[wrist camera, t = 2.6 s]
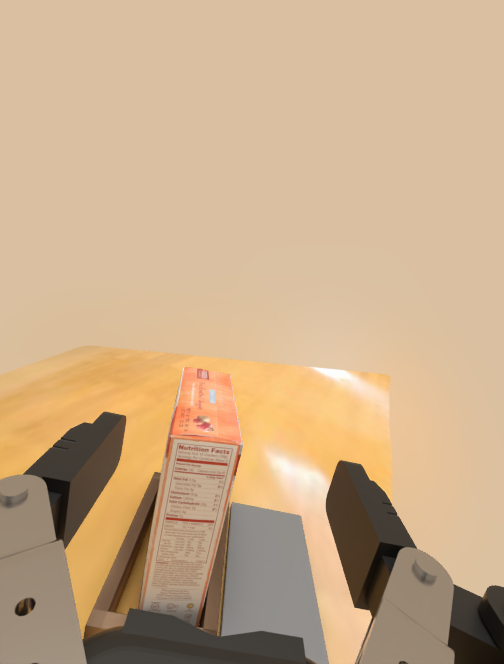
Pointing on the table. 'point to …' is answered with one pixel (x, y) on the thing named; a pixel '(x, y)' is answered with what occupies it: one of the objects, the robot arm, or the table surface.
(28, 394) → the table surface
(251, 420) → the table surface
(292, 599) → the flat gray rectangular board
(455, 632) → the robot arm
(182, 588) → the cracker box
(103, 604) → the walnut collar
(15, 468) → the table surface
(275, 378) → the table surface
